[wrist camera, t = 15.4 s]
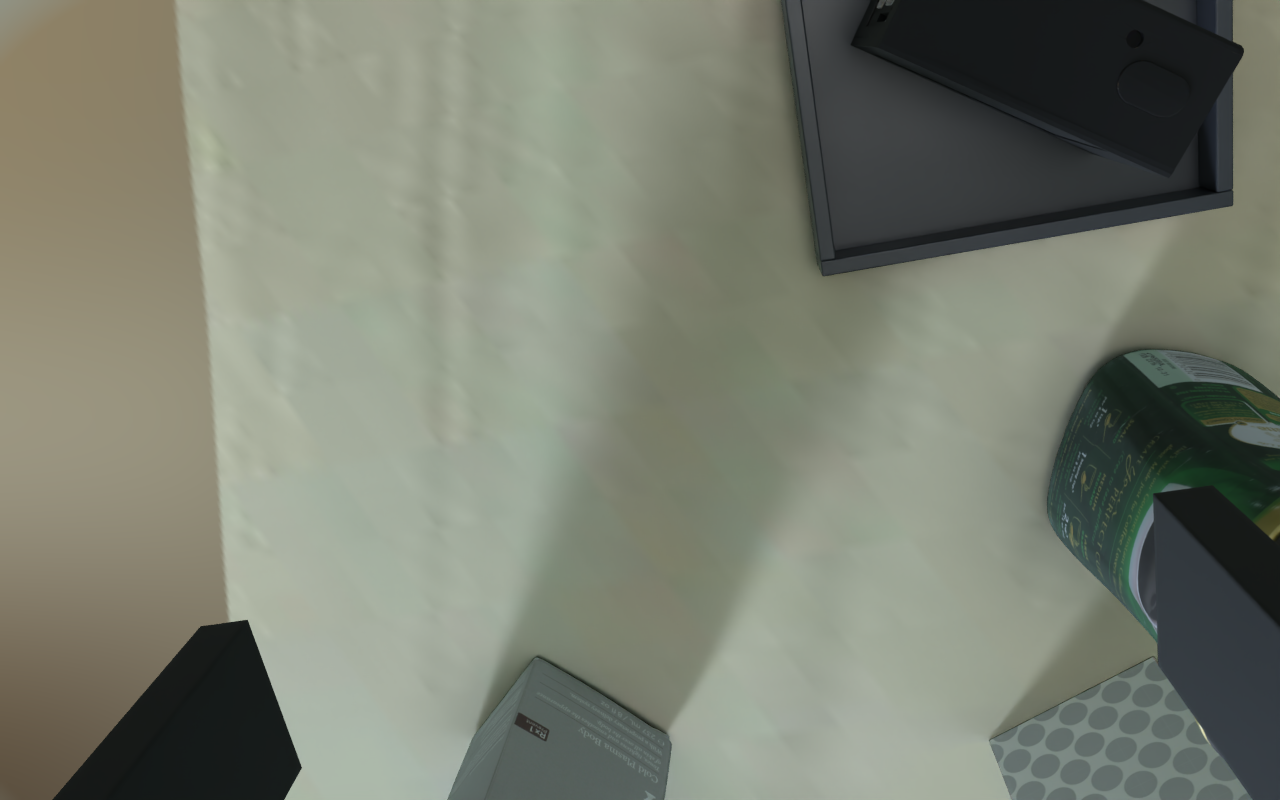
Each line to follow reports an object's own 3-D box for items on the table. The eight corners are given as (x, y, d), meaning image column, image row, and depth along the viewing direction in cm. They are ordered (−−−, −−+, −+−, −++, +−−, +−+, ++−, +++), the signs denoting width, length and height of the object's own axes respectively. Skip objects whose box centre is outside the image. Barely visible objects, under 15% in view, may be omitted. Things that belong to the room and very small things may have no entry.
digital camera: (1176, 14, 37) (1276, 11, 31) (1096, 155, 39) (1174, 180, 32) (918, -105, 36) (964, -135, 30) (849, 44, 38) (878, 47, 32)
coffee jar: (1196, 566, 45) (1503, 903, 28) (1020, 533, 45) (1216, 849, 28) (1282, 361, 42) (1691, 598, 24) (1091, 325, 42) (1364, 537, 24)
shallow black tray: (760, -145, 37) (763, -154, 35) (1203, -244, 35) (1232, -261, 33) (817, 265, 42) (822, 276, 40) (1207, 197, 40) (1233, 206, 38)
